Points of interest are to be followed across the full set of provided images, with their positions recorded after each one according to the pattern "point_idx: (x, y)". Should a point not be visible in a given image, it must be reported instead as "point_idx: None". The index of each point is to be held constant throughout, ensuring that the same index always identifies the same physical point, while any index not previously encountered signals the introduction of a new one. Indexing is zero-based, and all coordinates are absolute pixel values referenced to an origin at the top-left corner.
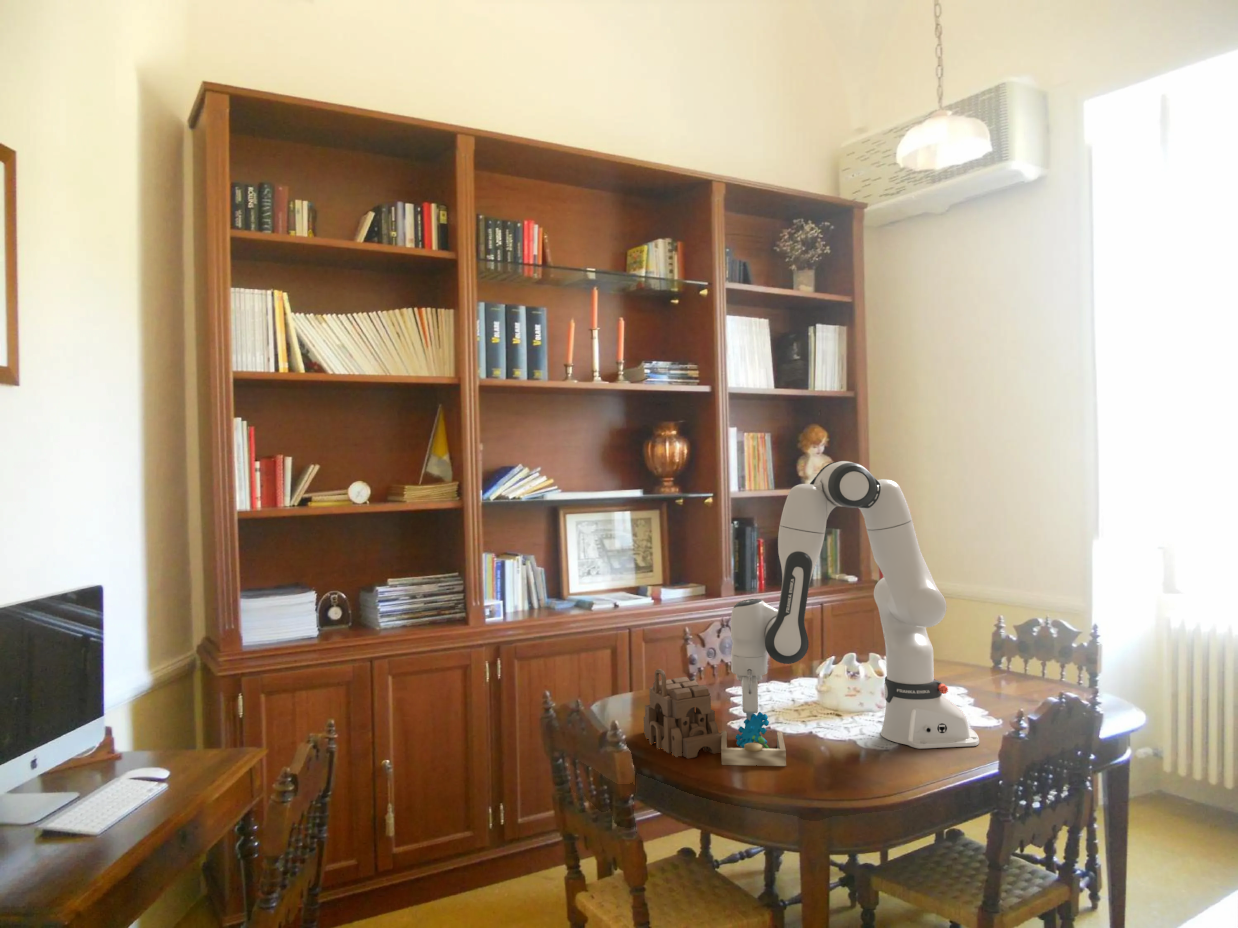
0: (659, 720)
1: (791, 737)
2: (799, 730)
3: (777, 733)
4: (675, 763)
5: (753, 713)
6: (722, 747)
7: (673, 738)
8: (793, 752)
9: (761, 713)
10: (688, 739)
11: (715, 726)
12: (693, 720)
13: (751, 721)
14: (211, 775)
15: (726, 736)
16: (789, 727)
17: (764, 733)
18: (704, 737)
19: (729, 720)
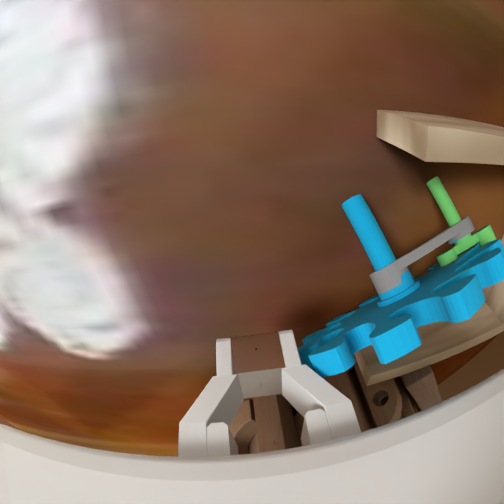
0: None
1: (199, 51)
2: (57, 40)
3: (451, 160)
4: (441, 372)
5: (319, 376)
6: (495, 332)
7: None
8: (447, 70)
9: (419, 340)
10: (435, 403)
11: (398, 408)
12: (236, 442)
13: (367, 342)
14: None
15: (427, 357)
16: (23, 108)
17: (490, 241)
18: (436, 390)
19: (64, 353)
